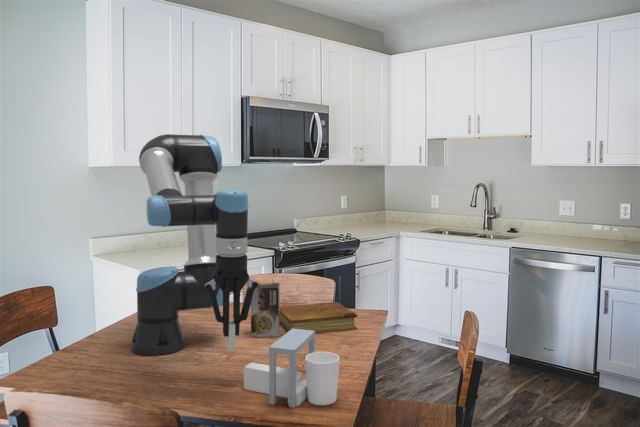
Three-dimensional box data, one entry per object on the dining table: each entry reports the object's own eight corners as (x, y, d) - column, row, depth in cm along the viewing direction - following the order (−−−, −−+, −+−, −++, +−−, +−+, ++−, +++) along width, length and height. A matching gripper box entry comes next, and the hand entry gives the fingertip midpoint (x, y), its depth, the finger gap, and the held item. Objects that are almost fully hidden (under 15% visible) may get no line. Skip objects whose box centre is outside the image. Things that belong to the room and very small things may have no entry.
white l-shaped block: (237, 393, 127) (237, 370, 126) (257, 380, 135) (257, 358, 134) (297, 406, 120) (297, 382, 120) (314, 391, 128) (314, 369, 128)
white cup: (308, 408, 119) (309, 364, 118) (301, 394, 126) (302, 352, 126) (343, 405, 121) (343, 362, 120) (334, 391, 128) (334, 350, 128)
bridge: (269, 404, 121) (269, 347, 120) (292, 379, 135) (292, 328, 134) (294, 407, 119) (294, 350, 118) (314, 382, 133) (315, 330, 132)
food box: (280, 331, 176) (280, 282, 174) (279, 337, 169) (279, 287, 168) (252, 331, 175) (252, 282, 174) (250, 337, 169) (250, 286, 167)
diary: (336, 317, 196) (336, 301, 195) (356, 331, 178) (357, 314, 178) (275, 321, 188) (275, 305, 187) (290, 337, 170) (290, 319, 170)
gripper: (206, 258, 123) (206, 356, 126) (261, 256, 128) (260, 351, 130) (202, 252, 130) (202, 345, 133) (255, 250, 135) (254, 340, 137)
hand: (231, 348), depth 132 cm, fingers closed
